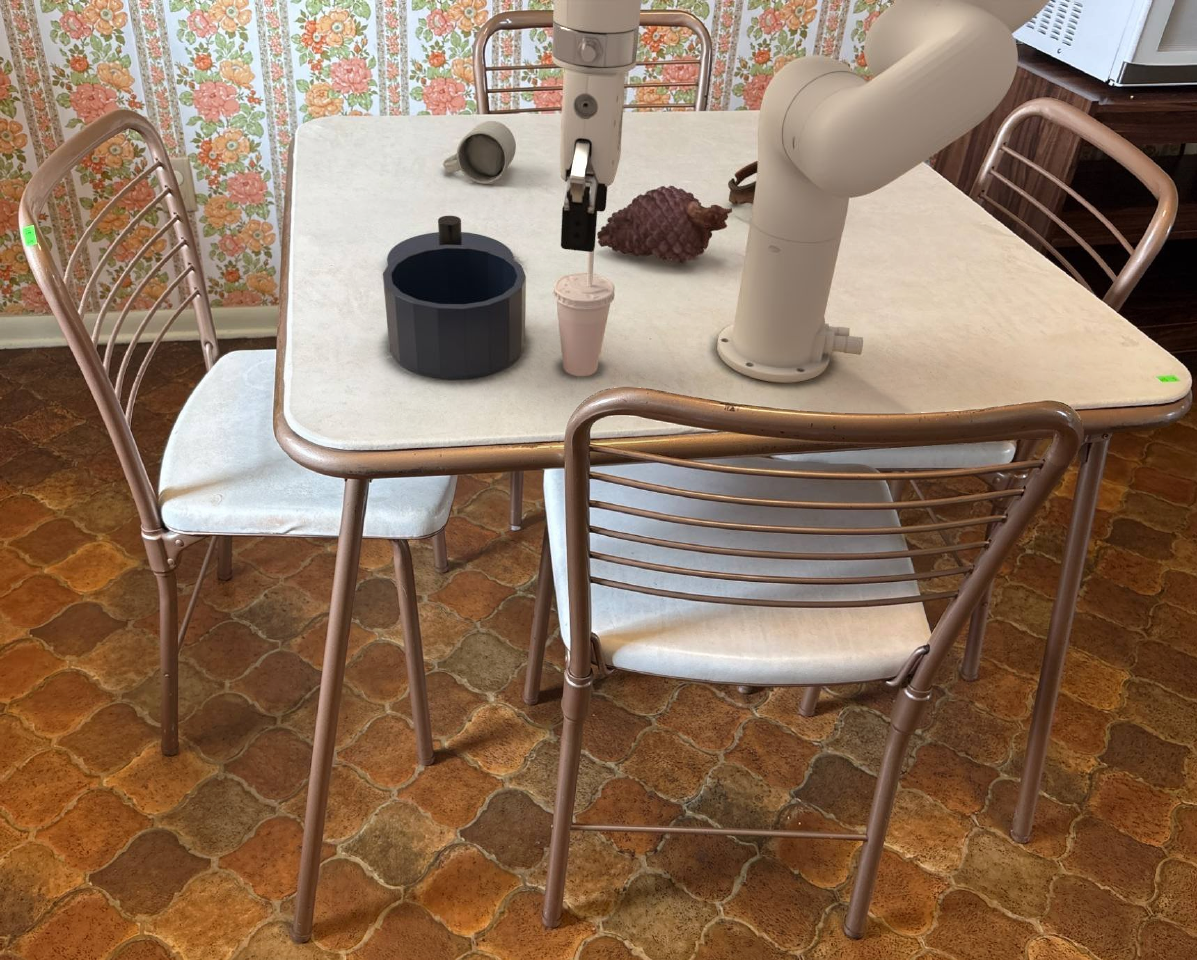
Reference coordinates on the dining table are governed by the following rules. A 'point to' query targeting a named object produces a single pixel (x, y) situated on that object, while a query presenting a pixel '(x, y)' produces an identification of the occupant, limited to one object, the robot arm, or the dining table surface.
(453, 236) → the pot lid
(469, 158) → the ceramic mug
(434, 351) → the pot
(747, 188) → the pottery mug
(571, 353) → the smoothie
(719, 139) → the dining table surface
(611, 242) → the pine cone
